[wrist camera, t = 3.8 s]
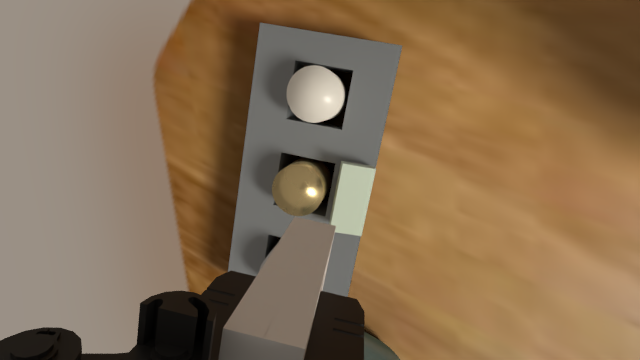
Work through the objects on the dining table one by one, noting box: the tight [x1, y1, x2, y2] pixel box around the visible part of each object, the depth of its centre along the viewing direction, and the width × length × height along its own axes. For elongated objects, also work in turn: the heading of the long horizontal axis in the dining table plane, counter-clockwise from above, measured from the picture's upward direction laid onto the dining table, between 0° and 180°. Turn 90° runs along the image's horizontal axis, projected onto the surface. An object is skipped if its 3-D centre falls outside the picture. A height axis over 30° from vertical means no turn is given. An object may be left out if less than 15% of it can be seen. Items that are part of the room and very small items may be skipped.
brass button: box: [272, 157, 331, 216], centre depth 32 cm, size 4×4×5 cm
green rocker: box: [329, 161, 376, 236], centre depth 31 cm, size 6×3×2 cm, turn 170°
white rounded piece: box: [287, 65, 347, 123], centre depth 31 cm, size 4×4×5 cm
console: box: [228, 23, 402, 297], centre depth 34 cm, size 26×12×4 cm, turn 170°
